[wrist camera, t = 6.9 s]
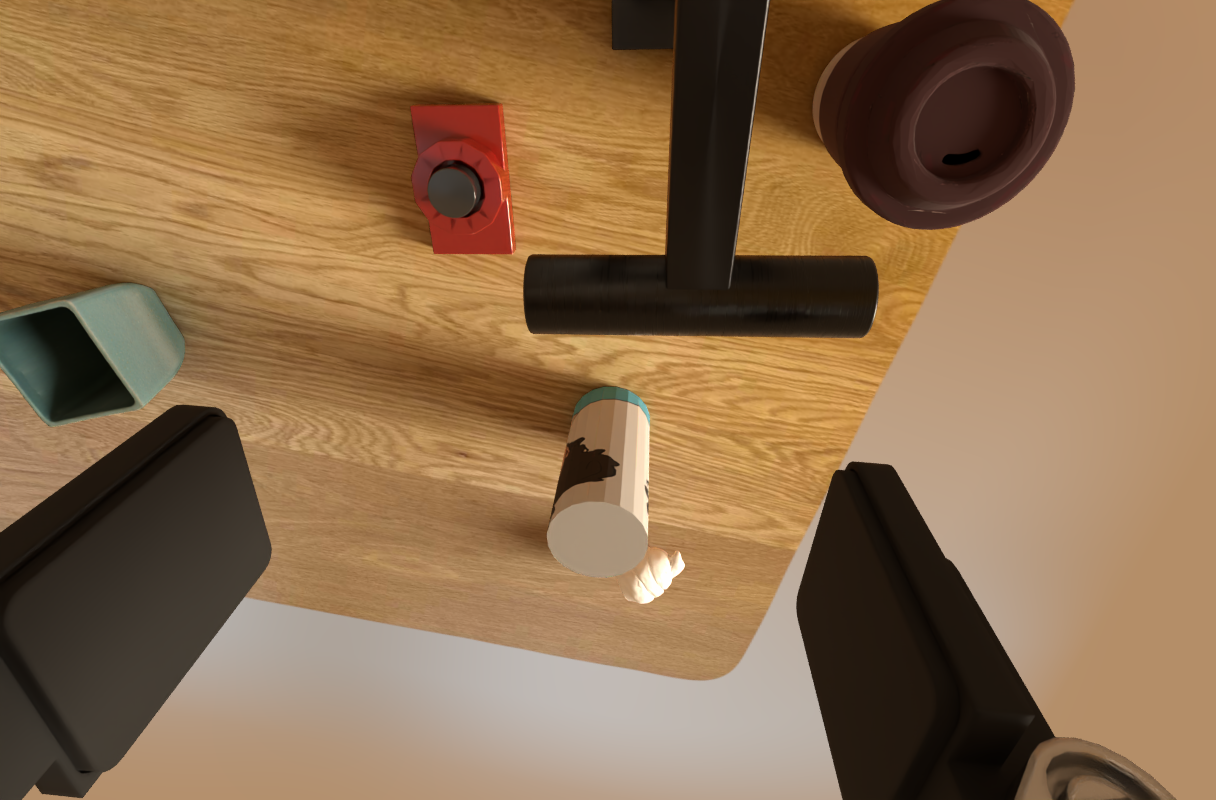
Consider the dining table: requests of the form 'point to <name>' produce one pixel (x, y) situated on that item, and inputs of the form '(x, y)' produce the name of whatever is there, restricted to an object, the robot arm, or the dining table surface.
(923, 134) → the coffee cup
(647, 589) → the garlic bulb
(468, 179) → the button
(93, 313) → the flower pot
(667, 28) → the lever bracket
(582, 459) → the beige cylindrical canister
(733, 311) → the t-handle lever
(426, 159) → the button block
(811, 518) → the dining table surface
